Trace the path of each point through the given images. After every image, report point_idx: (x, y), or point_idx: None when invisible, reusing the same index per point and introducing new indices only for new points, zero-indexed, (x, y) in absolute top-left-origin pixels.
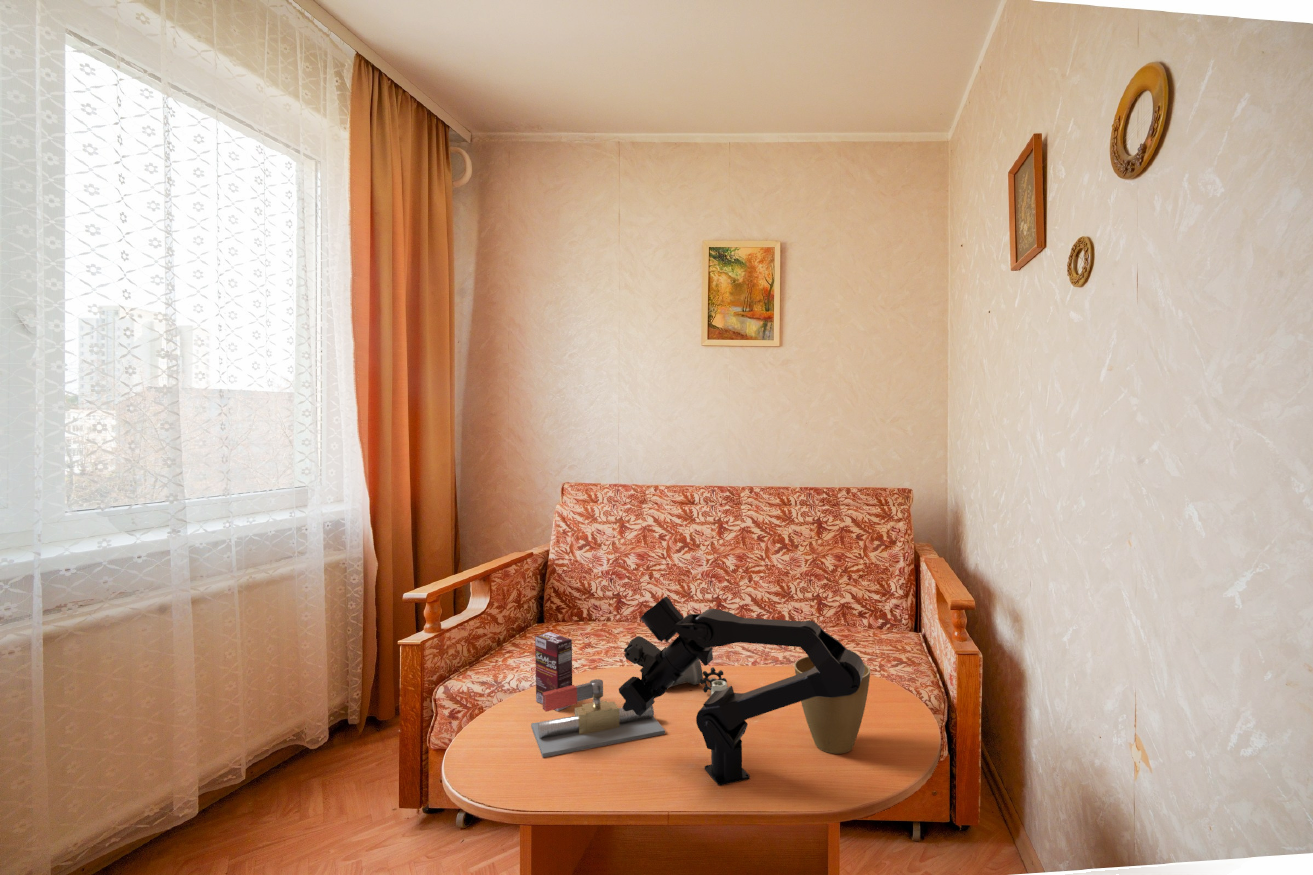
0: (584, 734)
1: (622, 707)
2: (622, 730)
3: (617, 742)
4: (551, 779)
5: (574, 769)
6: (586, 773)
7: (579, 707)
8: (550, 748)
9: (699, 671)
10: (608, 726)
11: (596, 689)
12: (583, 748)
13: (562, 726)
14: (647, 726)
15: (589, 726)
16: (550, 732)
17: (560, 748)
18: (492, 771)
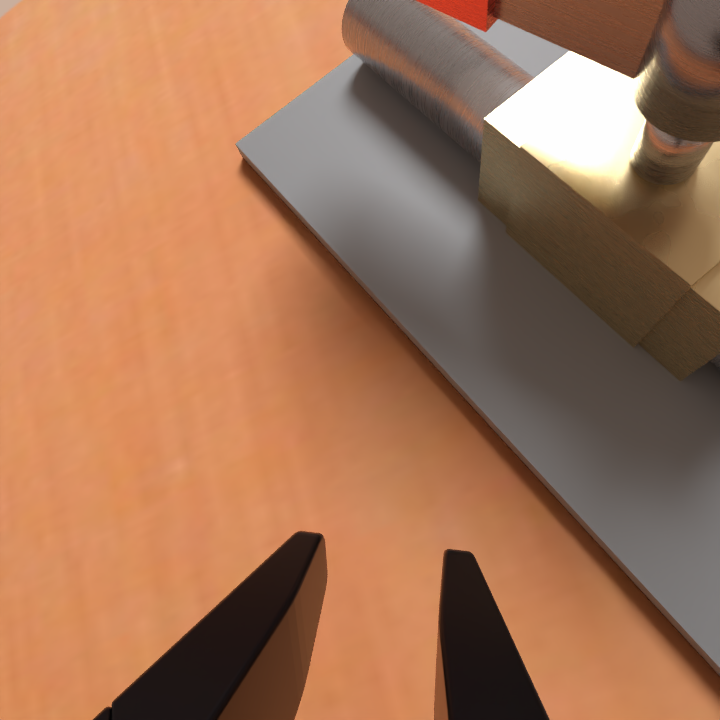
0: (489, 225)
1: (299, 533)
2: (641, 422)
3: (505, 442)
4: (77, 287)
5: (172, 341)
6: (147, 415)
7: None
8: (289, 150)
9: None
10: (616, 320)
11: (676, 40)
12: (365, 289)
13: (425, 93)
14: None
15: (522, 220)
16: (378, 73)
17: (301, 191)
18: (104, 55)
